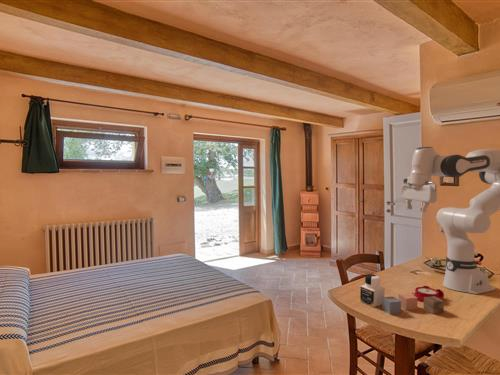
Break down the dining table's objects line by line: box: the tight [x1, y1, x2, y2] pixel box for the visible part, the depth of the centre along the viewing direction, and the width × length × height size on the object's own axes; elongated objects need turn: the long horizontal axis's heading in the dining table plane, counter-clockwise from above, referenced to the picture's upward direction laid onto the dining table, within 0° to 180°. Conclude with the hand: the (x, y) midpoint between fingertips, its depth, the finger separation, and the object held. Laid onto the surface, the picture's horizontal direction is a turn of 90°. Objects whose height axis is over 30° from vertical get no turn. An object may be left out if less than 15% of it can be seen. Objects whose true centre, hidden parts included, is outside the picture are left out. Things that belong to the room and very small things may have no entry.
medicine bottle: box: [359, 273, 386, 308], centre depth 137 cm, size 7×7×12 cm
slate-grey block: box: [381, 296, 402, 315], centre depth 129 cm, size 5×5×5 cm
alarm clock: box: [411, 285, 445, 303], centre depth 143 cm, size 10×6×15 cm
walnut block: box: [423, 296, 445, 315], centre depth 129 cm, size 5×5×5 cm
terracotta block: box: [398, 292, 418, 311], centre depth 133 cm, size 5×5×5 cm
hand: (415, 210), depth 149 cm, fingers open, 8 cm apart
